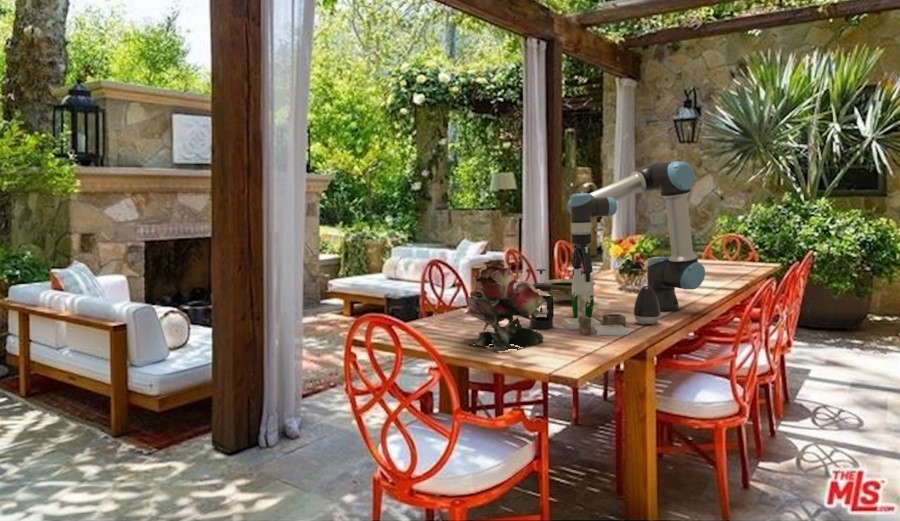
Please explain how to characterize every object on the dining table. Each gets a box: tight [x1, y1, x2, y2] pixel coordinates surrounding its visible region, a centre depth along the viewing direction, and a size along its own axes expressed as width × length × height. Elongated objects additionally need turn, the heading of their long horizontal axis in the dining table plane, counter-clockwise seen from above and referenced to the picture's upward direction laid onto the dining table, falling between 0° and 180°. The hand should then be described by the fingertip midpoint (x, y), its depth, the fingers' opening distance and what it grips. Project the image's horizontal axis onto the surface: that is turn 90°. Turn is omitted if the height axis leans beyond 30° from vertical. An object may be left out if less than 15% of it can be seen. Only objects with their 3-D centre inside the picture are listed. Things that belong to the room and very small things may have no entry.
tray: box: [562, 317, 601, 331], centre depth 269 cm, size 12×10×2 cm
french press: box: [528, 268, 554, 330], centre depth 270 cm, size 12×9×23 cm
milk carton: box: [571, 269, 595, 319], centre depth 289 cm, size 9×9×20 cm
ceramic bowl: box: [543, 278, 596, 305], centre depth 326 cm, size 30×24×10 cm
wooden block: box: [578, 316, 592, 336], centre depth 257 cm, size 3×5×6 cm, turn 5°
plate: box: [591, 324, 630, 337], centre depth 258 cm, size 12×9×2 cm
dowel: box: [578, 295, 585, 323], centre depth 269 cm, size 3×3×12 cm
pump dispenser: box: [633, 285, 661, 325], centre depth 273 cm, size 10×10×15 cm
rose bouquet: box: [465, 258, 546, 352], centre depth 245 cm, size 26×29×30 cm
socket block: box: [602, 313, 627, 328], centre depth 270 cm, size 7×7×4 cm
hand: (582, 287), depth 268 cm, fingers open, 13 cm apart
